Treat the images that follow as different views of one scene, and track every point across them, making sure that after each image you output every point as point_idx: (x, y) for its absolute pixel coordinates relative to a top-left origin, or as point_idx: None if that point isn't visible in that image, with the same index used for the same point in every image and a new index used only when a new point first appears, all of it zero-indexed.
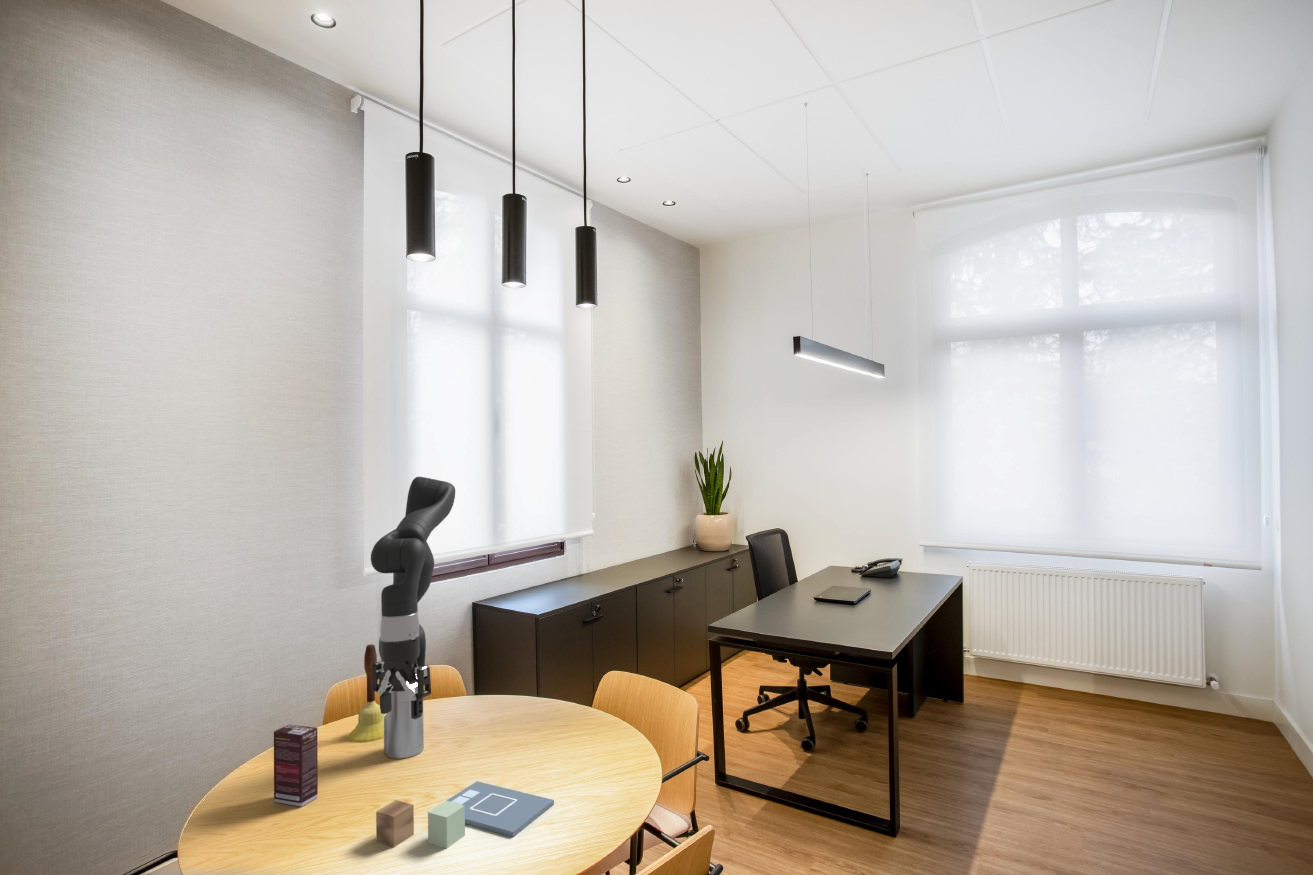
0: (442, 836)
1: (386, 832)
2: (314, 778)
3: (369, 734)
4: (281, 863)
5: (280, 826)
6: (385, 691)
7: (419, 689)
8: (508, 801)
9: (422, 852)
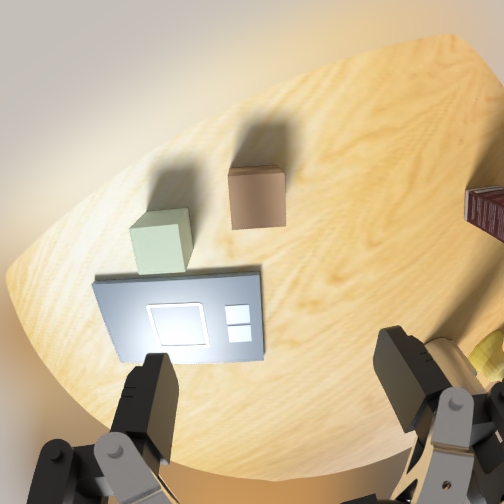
0: (150, 215)
1: (250, 169)
2: (484, 224)
3: (484, 348)
4: (363, 58)
5: (451, 137)
6: (431, 426)
7: (49, 487)
8: (167, 340)
9: (170, 182)
